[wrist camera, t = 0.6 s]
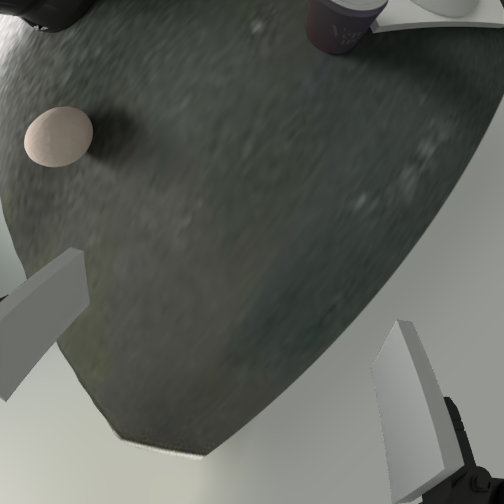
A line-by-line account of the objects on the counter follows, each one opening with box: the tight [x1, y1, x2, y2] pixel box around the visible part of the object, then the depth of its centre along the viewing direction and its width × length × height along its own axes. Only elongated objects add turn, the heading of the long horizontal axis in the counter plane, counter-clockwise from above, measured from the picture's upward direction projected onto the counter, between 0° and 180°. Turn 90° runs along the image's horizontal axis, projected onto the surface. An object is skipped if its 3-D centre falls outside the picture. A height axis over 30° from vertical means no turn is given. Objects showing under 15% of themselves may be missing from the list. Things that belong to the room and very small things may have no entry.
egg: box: [24, 107, 93, 167], centre depth 30 cm, size 8×8×11 cm
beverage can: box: [306, 0, 389, 54], centre depth 20 cm, size 6×6×15 cm
